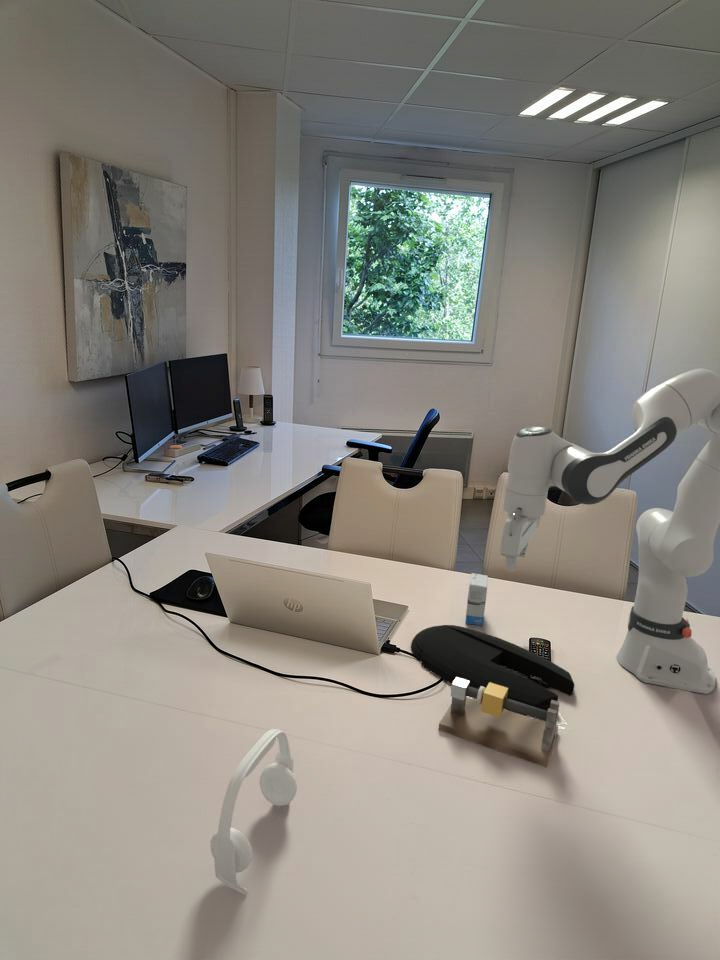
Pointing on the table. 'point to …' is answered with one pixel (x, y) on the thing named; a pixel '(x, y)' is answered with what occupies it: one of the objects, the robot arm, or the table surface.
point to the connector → (459, 695)
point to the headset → (276, 788)
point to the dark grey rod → (510, 704)
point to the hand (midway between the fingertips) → (516, 562)
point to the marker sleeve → (494, 699)
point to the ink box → (476, 599)
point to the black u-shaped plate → (490, 664)
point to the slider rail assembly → (505, 731)
